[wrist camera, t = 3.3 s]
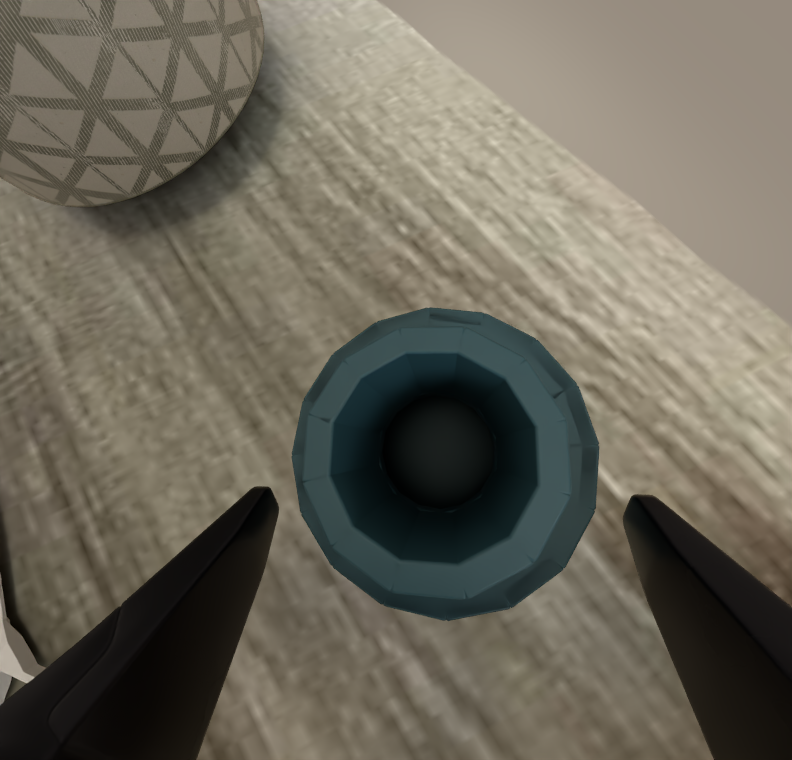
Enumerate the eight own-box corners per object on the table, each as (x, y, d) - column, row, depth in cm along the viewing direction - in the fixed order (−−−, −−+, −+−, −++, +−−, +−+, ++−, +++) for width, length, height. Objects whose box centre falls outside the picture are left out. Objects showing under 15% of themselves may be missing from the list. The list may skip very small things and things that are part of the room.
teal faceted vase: (467, 550, 16) (552, 943, 3) (350, 471, 18) (95, 531, 5) (536, 427, 17) (835, 354, 4) (418, 360, 19) (354, 150, 6)
